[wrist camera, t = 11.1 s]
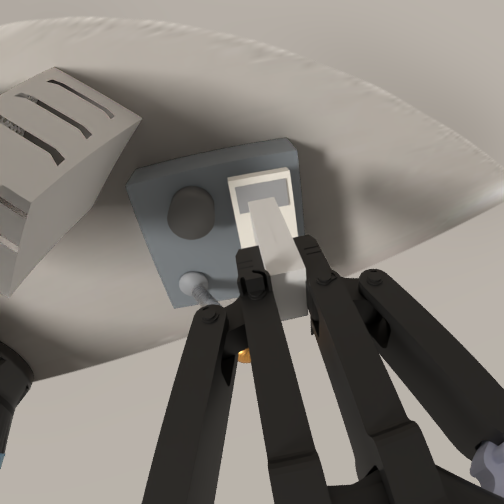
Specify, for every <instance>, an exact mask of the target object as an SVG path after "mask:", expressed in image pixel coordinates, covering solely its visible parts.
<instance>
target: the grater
mask: <svg viewBox="0 0 504 504" xmlns="http://www.w3.org/2000/svg"><path fill="white" fill-rule="evenodd" d="M49 80H55V81H58V82H61V83H63V84H65V85H67V86H69V87H70V88H72V89H74V90H76V91H77V92H79V93H81V94H83V95H84V96H86V97H88V98H89V99H91V100H93V101H95V102H96V103H98V104H100V105H101V106H103V107H105V108H106V109H108V110H109V111H110V112H111V113H112V114H113V115H115V116H114V117H113V118H112V119H110V118H109V116H108V115H107V114H106V113H105V112H104V111H103V110H101V109H100V108H98V107H96V106H95V105H93V104H91V103H89V102H88V101H86V100H84V99H83V98H81V97H79V96H77V95H76V94H74V93H72V92H70V91H69V90H67V89H65V88H63V87H62V86H60V85H58V84H54V83H49V82H47V81H49ZM29 96H31V99H30V100H29V99H28V97H29ZM32 100H34V102H32ZM38 100H40V101H42V102H43V103H45V104H47V105H49V106H50V107H52V108H54V109H55V110H57V111H59V112H61V113H62V114H64V115H66V116H67V117H69V118H71V119H72V120H74V121H76V122H78V123H79V124H81V125H83V126H84V127H85V128H86V129H87V130H88V131H89V132H90V133H91V134H92V135H91V136H90V137H89V138H88V139H86V138H85V136H84V135H83V134H82V132H81V131H80V129H78V128H76V127H75V126H73V125H71V124H70V123H68V122H66V121H64V120H63V119H61V118H59V117H58V116H56V115H54V114H53V113H51V112H49V111H48V110H46V109H44V108H42V107H41V106H39V105H37V104H36V103H37V101H38ZM0 115H1V116H3V117H2V118H1V119H0V197H1V198H3V199H4V200H6V201H7V202H9V203H11V204H12V205H14V206H15V207H17V208H18V209H20V210H21V211H23V212H25V213H26V214H28V215H27V218H26V219H25V218H23V217H22V216H20V215H19V214H17V213H16V212H14V211H12V210H11V209H9V208H8V207H6V206H5V205H3V204H2V203H0V235H1V236H3V237H4V238H6V239H8V240H9V241H11V242H12V243H14V244H15V245H17V246H19V249H18V253H16V252H15V251H13V250H12V249H10V248H8V247H7V246H5V245H4V244H2V243H1V242H0V293H1V294H2V295H4V296H6V297H7V298H9V297H10V296H11V295H12V294H13V292H14V291H15V290H16V289H17V287H18V286H19V285H20V284H21V283H22V281H23V280H24V279H25V278H26V277H27V276H28V274H29V273H30V272H31V271H32V270H33V269H34V267H35V266H36V265H37V264H38V263H39V262H40V261H41V260H42V258H43V257H44V256H45V255H46V254H47V253H48V252H49V251H50V250H51V249H52V248H53V246H54V245H55V244H56V243H57V242H58V241H59V240H60V239H61V238H62V237H63V236H64V235H65V234H66V233H67V232H68V231H69V230H70V229H71V228H72V227H73V226H74V225H75V224H76V223H77V222H78V221H79V220H80V219H81V218H82V217H83V216H84V215H85V214H86V213H87V212H88V211H89V210H90V209H91V208H92V207H93V205H94V203H95V201H96V199H97V197H98V195H99V193H100V191H101V189H102V187H103V185H104V183H105V182H106V180H107V178H108V176H109V174H110V172H111V170H112V169H113V167H114V165H115V163H116V162H117V160H118V158H119V156H120V155H121V153H122V151H123V149H124V148H125V146H126V144H127V143H128V141H129V139H130V138H131V136H132V135H133V133H134V131H135V130H136V128H137V127H138V125H139V123H140V122H141V120H142V119H143V118H141V117H140V116H138V115H136V114H135V113H133V112H132V111H130V110H128V109H127V108H125V107H123V106H122V105H120V104H118V103H117V102H115V101H113V100H111V99H110V98H108V97H106V96H105V95H103V94H101V93H100V92H98V91H96V90H94V89H93V88H91V87H89V86H87V85H86V84H84V83H82V82H80V81H79V80H77V79H75V78H73V77H71V76H70V75H68V74H66V73H64V72H62V71H61V70H59V69H57V68H55V67H53V68H51V69H48V70H46V71H44V72H42V73H40V74H38V75H36V76H34V77H32V78H30V79H28V80H26V81H24V82H22V83H20V84H19V85H17V86H15V87H13V88H11V89H10V90H8V91H6V92H4V93H3V94H1V95H0ZM4 118H6V119H7V121H6V122H5V123H4V122H3V121H4ZM9 121H11V123H9ZM13 123H14V124H16V125H15V126H13ZM9 126H10V129H9V128H8V127H9ZM17 126H19V127H17ZM20 127H21V128H22V129H21V130H20ZM13 129H14V131H13ZM16 130H18V132H17V133H16V132H15V131H16ZM25 130H26V131H27V132H29V133H31V134H32V135H34V136H36V137H37V138H39V139H40V140H42V141H44V142H45V143H47V144H49V145H50V146H52V147H54V148H55V149H56V150H57V151H58V152H59V153H60V154H61V155H62V156H63V157H64V158H65V160H64V161H63V162H62V163H61V164H59V165H58V166H57V165H56V163H55V161H54V160H53V158H52V156H51V154H50V153H48V152H47V151H45V150H43V149H42V148H40V147H39V146H37V145H35V144H34V143H32V142H30V141H29V140H27V139H26V138H24V137H23V135H24V133H25ZM20 132H21V135H19V133H20Z"/></svg>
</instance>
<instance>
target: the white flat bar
mask: <svg viewBox="0 0 504 504" xmlns="http://www.w3.org/2000/svg"><path fill="white" fill-rule="evenodd" d="M228 185H229V190H230V195H231V200H232V205H233V210H234V215H235V220H236V224H237V229H238V234H239V239H240V244H241V249H243V248H248V247H253V246H256V244H255V239H254V233H253V228H252V222H251V217H250V211H249V206H248V202H250V201H255V200H260V199H265V198H271V197H274V198H275V200H276V202H277V204H278V207H279V209H280V211H281V213H282V215H283V218H284V220H285V222H286V224H287V227H288V229H289V231H290V233H291V236H292V238H294V237H298V232H297V223H296V215H295V207H294V199H293V191H292V184H291V176H290V170H289V169H288V168H287V167H284V168H278V169H272V170H266V171H260V172H255V173H249V174H244V175H239V176H233V177H228Z"/></svg>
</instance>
